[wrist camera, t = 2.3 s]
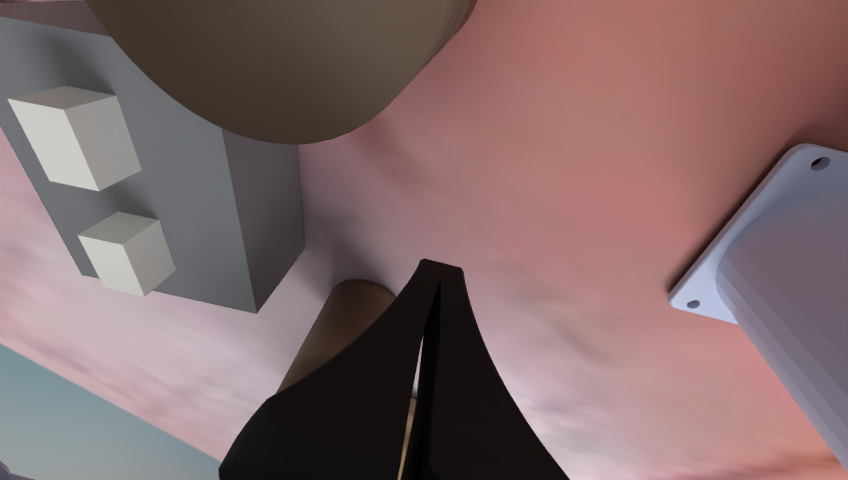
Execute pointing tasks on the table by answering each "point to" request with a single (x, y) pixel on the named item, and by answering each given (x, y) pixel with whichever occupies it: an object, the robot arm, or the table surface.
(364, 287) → the walnut post
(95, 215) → the block
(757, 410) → the table surface
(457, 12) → the walnut post
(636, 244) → the table surface
